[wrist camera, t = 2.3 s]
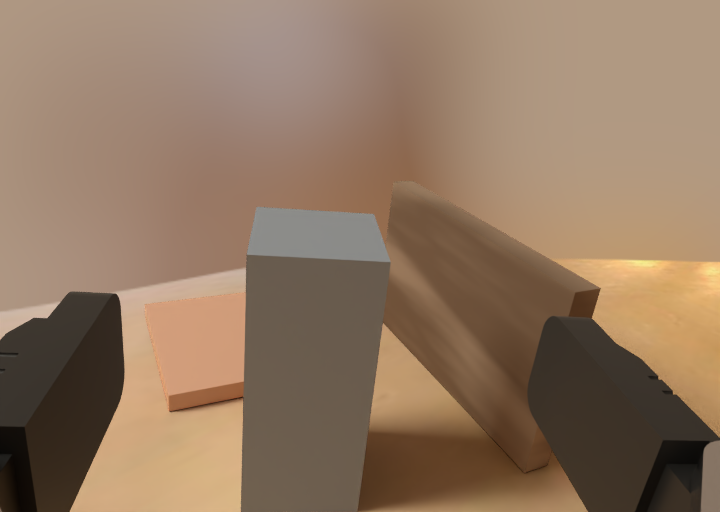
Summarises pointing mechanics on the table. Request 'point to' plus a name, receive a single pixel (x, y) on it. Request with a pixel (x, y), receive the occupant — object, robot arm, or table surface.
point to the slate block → (310, 357)
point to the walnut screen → (476, 311)
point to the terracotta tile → (199, 348)
